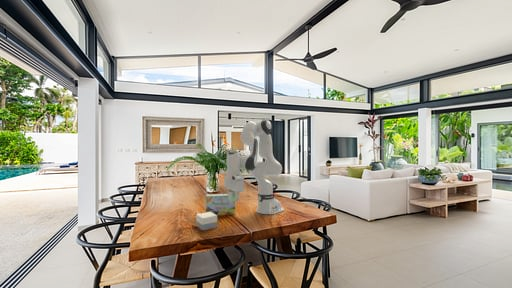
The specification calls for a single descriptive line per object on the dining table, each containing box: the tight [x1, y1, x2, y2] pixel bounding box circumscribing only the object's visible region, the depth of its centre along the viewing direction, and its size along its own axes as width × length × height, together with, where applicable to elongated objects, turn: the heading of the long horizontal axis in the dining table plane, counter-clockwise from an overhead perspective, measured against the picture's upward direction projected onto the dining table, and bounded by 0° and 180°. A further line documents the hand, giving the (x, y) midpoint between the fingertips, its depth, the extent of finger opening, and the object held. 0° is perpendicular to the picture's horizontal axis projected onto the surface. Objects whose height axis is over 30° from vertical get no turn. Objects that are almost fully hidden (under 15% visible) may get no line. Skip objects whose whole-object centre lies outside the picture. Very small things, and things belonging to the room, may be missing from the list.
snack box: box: [205, 193, 236, 216], centre depth 179 cm, size 21×6×15 cm, turn 101°
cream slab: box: [195, 211, 218, 225], centre depth 153 cm, size 10×10×4 cm
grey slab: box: [195, 220, 218, 231], centre depth 153 cm, size 10×10×4 cm
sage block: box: [227, 190, 240, 202], centre depth 158 cm, size 5×5×6 cm
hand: (233, 196), depth 158 cm, fingers closed on sage block, 5 cm apart
